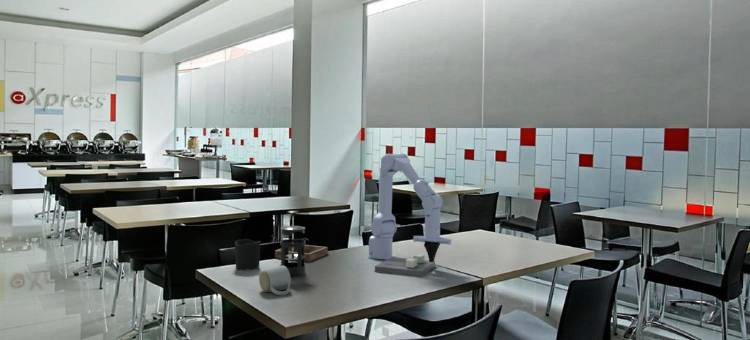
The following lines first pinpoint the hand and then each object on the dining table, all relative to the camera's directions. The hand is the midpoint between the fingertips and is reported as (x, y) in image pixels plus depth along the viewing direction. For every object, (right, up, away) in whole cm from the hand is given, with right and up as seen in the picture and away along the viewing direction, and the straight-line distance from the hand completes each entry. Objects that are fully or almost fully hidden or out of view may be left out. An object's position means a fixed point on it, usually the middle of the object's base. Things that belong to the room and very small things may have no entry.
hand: (431, 261), depth 212 cm
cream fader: (-8, -1, -5) cm, 10 cm away
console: (-10, -3, 0) cm, 10 cm away
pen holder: (-70, -2, -1) cm, 70 cm away
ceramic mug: (-53, -4, -33) cm, 63 cm away
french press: (-52, -3, -10) cm, 53 cm away
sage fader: (-5, 0, +2) cm, 5 cm away
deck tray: (-52, -1, +21) cm, 56 cm away
